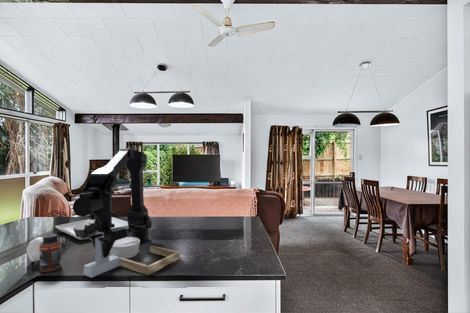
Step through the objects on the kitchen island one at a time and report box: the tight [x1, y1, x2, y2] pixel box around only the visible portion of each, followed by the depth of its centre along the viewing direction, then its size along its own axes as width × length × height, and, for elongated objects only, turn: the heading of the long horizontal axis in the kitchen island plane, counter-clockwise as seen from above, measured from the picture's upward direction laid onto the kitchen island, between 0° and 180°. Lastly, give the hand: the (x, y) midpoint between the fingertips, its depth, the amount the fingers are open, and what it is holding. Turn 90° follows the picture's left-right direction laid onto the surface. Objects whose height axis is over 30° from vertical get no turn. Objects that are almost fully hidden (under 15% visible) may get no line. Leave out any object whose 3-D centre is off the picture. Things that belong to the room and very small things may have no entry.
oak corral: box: [118, 245, 181, 276], centre depth 93 cm, size 15×14×2 cm
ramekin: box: [109, 236, 141, 260], centre depth 100 cm, size 11×11×5 cm
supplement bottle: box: [39, 233, 62, 273], centre depth 87 cm, size 6×6×11 cm
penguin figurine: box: [25, 236, 43, 262], centre depth 97 cm, size 6×8×12 cm
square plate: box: [54, 216, 130, 241], centre depth 131 cm, size 27×27×4 cm
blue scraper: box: [83, 235, 120, 279], centre depth 86 cm, size 4×10×11 cm, turn 151°
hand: (102, 256), depth 86 cm, fingers closed on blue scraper, 3 cm apart
